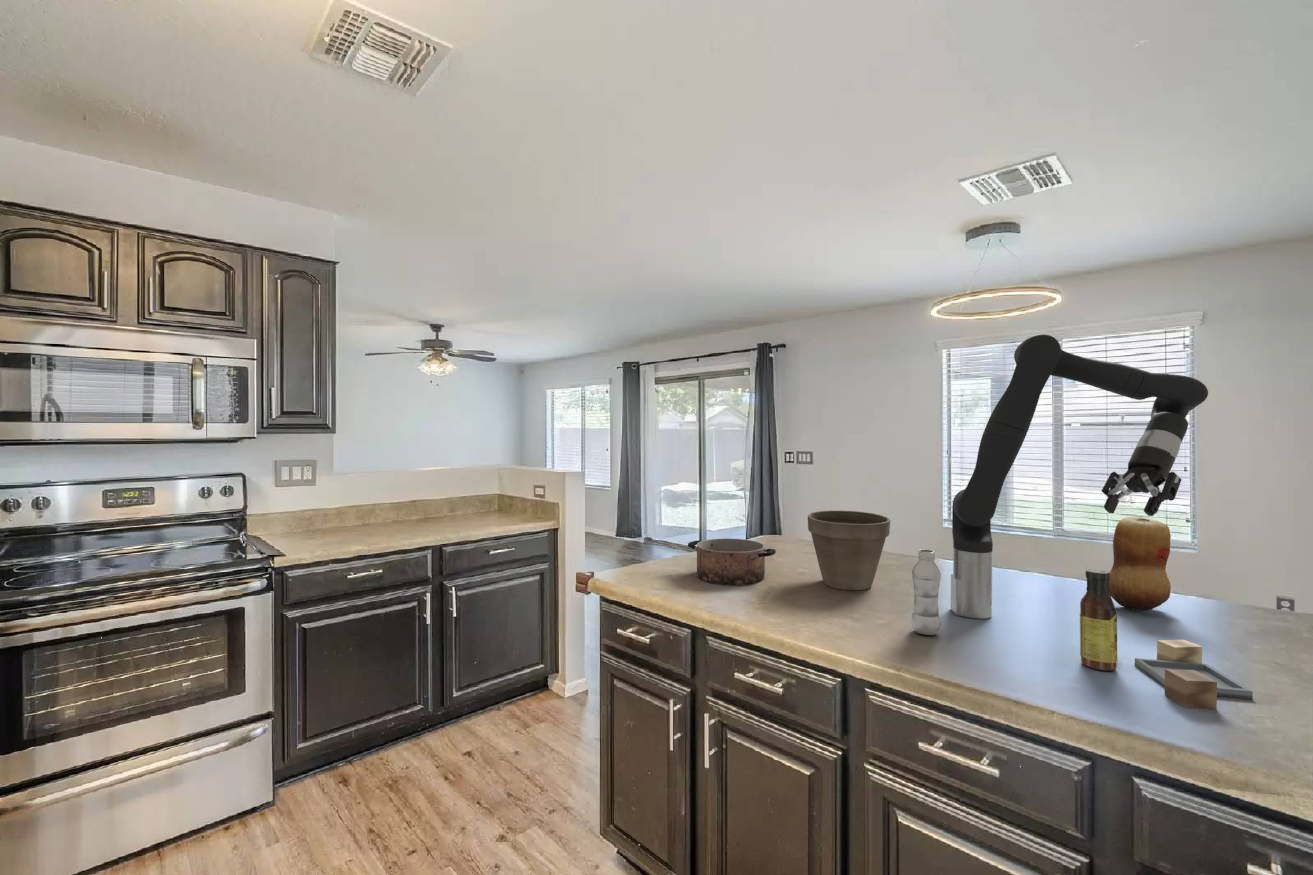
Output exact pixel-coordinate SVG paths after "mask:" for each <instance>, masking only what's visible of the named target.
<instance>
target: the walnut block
mask: <svg viewBox="0 0 1313 875" xmlns="http://www.w3.org/2000/svg"><path fill="white" fill-rule="evenodd" d="M1164 696H1166V697H1167V698H1169V699H1170V700H1172V701H1174V702H1175V703H1177V704H1179V705H1181V706H1182V707H1183V708H1185V709H1199V710H1201V709H1202V710H1203V709H1204V710H1217V709H1218V708H1217V707H1218V706H1217V705H1218V703H1217V700H1218V696H1217V682H1216V681H1215V680H1213V679H1211V678H1209V677H1207V676H1205V675H1203V674H1201V673H1199V672H1197V671H1195V670H1178V669H1165V687H1164Z"/></svg>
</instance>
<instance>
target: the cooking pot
mask: <svg viewBox="0 0 1313 875" xmlns="http://www.w3.org/2000/svg"><path fill="white" fill-rule="evenodd" d="M687 547H688V548H690V549H692V550H695V552H696V576H697V578H698V579H699V580H701V581H703V582H705V583H709V584H713V585H719V586H732V587H733V586H748V585H749V586H750V585H754V584H758V583H760V582H762V581H763V580H764V579H765V576H766V575H765V574H766V572H765V571H766V569H765V568H766V566H765V565H766V562H765V561H766V557H771V556H773V555H775V554H776V552H777V551H776V549H775V548H766V546H765V544H763V543H761V542H759V541H756V540H752V539H751V540H750V539H743V538H723V537H722V538H711V539H705V540H693V541H689V542H688V543H687Z"/></svg>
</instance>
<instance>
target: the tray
mask: <svg viewBox="0 0 1313 875" xmlns="http://www.w3.org/2000/svg"><path fill="white" fill-rule="evenodd" d="M1134 666H1135V667H1137V668H1138V669H1139V670H1141V672H1143V673H1144V674H1146V675H1147V676H1149V677H1150V678H1151V679H1153V680H1154V681H1156V682H1157V683H1159V684H1160V685H1161V686H1163V687H1164V688H1165V669H1178V670H1195V671H1197V672H1199V673H1201V674H1203V675H1205V676H1207V677H1209V678H1211V679H1213V680H1215V681H1216V682H1217V697H1224V698H1235V699H1244V700H1253V696H1254V694H1253V693H1254V692H1253V690H1251V689H1250V688H1249V687H1246V686H1245V685H1243V684H1241V683H1240V682H1238V681H1236V680H1235V679H1233V678H1231V677H1229V676H1227V675H1226V674H1225V673H1223V672H1221V671H1219V670H1217V669H1216V668H1214V667H1213V666H1211V665H1209V664H1207V663H1202V664H1200V663H1187V662H1175V661H1163V660H1157V659H1150V658H1149V659H1148V658H1138V657H1136V658H1134Z"/></svg>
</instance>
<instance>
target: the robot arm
mask: <svg viewBox="0 0 1313 875" xmlns="http://www.w3.org/2000/svg"><path fill="white" fill-rule="evenodd" d="M1013 359H1014V362H1015V364H1016V365H1015V367H1014V370H1013V374H1012V376H1011V378H1010V381H1009V384H1008V386H1007V388H1006V389H1005V390H1004V393H1003V394H1002V396H1001V397H1000V399H999V400H998V402H997V404H996V405H995V406H994V409H993V410H992V412H991V414H990V416H989V418H988V420H987V423H986V426H985V428H984V430H983V432H982V436H981V439H980V442H979V447H978V452H977V457H976V461H975V466H974V470H973V473H972V475H971V476H970V479H969V480H968V483H967V485H966V486H965V488H964V489H961V490H960V491H958V492H957V493H956V494H955V496H954V498H953V500H952V506H951V507H952V508H951V509H952V511H951V513H952V516H951V517H952V519H951V520H952V523H951V524H952V544H953V546H952V549H953V550H952V552H953V553H952V557H953V558H952V560H953V561H952V573H951V574H950V610H951V611H952V612H953V613H954V615H955V616H960V617H965V618H969V619H979V620H983V619H989V618H992V616H993V614H992V613H993V556H994V554H993V549H994V548H993V546H994V545H993V544H994V542H993V537H992V528H991V526H992V525H991V522H992V521H991V520H992V519H993V517H994V516H995V512H996V509H997V505H998V503H999V498H1000V496H1001V492H1002V489H1003V486H1004V482H1005V480H1006V477H1007V476H1008V474H1009V472H1010V471H1011V468H1012V466H1013V465H1014V462H1015V460H1016V458H1017V456H1018V453H1019V452H1020V450H1021V448H1022V446H1023V444H1024V441H1025V439H1026V437H1027V434H1028V432H1029V429H1030V426H1031V423H1032V420H1033V418H1034V415H1035V413H1036V410H1037V406H1038V403H1039V399H1040V397H1041V394H1042V391H1043V390H1044V387H1045V386H1046V384H1047V382H1048V380H1049V379H1050V376H1052V377H1053V376H1054V377H1058V378H1063V379H1066V380H1071V381H1075V382H1077V383H1078V382H1079V383H1082V384H1086V385H1088V386H1091V387H1095V388H1096V389H1100V390H1104V391H1106V392H1110V393H1112V394H1116V395H1120V396H1122V397H1126V398H1129V399H1132V400H1136V401H1142V400H1146V399H1150V398H1155V400H1154V401H1153V405H1152V408H1151V414H1150V420H1149V421H1148V424H1147V426H1146V428H1145V430H1144V432H1143V434H1142V435H1141V437H1140V438H1139V439H1138V441H1137V444H1136V445H1135V448H1134V450H1133V452H1132V454H1131V456H1130V458H1129V460H1128V463H1127V471H1125V473H1122V474H1121V473H1119V474H1118V472H1116V471H1113V472H1111V473H1110V474H1109V476H1108V477H1107V479H1106V481H1105V484H1104V485H1103V487H1102V489H1101V493H1103V494H1104V495H1105V496H1106V501H1105V503H1104V505H1103V508H1104V510H1105V511H1106V512H1107V513H1108V514H1114V513H1115V511H1116V510H1117V506H1118V505H1119V503H1120V500H1121V499H1122V498H1124V497H1126V496H1130V495H1131V494H1133V493H1135V494H1136V493H1144V494H1148V493H1150V495H1151V496H1149V497H1148V499H1147V502H1146V504H1145V507H1144V508H1143V512H1144V513H1145V515H1147V516H1148V517H1153V516H1155V515H1156V514H1157V513H1158V511H1159V508H1160V506H1161V505H1162V503H1164V502H1165V501H1174V500H1175V499H1176V496H1177V494H1178V491H1179V488H1180V485H1181V483H1182V478H1181V477H1180V476H1179V475H1178V474H1177V473H1176V472H1175V471H1172V468H1173V466H1174V463H1175V461H1176V459H1177V457H1178V455H1179V452H1180V449H1181V444H1182V442H1183V440H1184V438H1185V436H1186V433H1187V430H1188V427H1189V423H1188V420H1187V418H1186V417H1187V415H1188V414H1189V413H1190V412H1191V411H1192V410H1193V409H1195V408H1196V407H1198V406H1200V405H1201V404H1202V403H1204V402H1205V400H1207V399H1208V396H1209V389H1208V387H1207V386H1206V385H1205V383H1203V382H1202V381H1200V380H1198V379H1197V378H1194V377H1191V376H1186V375H1181V374H1173V373H1172V374H1170V373H1161V372H1151V371H1148V370H1144V369H1141V368H1138V367H1134V366H1130V365H1126V364H1123V363H1118V362H1112V361H1107V360H1102V359H1101V360H1100V359H1095V358H1088V357H1085V356H1081V355H1077V354H1073V353H1071V352H1068V351H1065V350H1064V349H1062V346H1061V343H1060V342H1059V340H1058V339H1057V338H1055V337H1054V336H1052V335H1050V334H1047V333H1039V334H1035V335H1031V336H1029V337H1028V338H1026V339H1025V340H1023V341H1022V342H1021V343H1020V344H1018V346H1017V347H1016V348H1015V351H1014V354H1013ZM1161 485H1163V487H1162V489H1160V486H1161ZM1125 486H1126V488H1127V489H1125V488H1124V487H1125ZM1161 490H1162V491H1161Z"/></svg>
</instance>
